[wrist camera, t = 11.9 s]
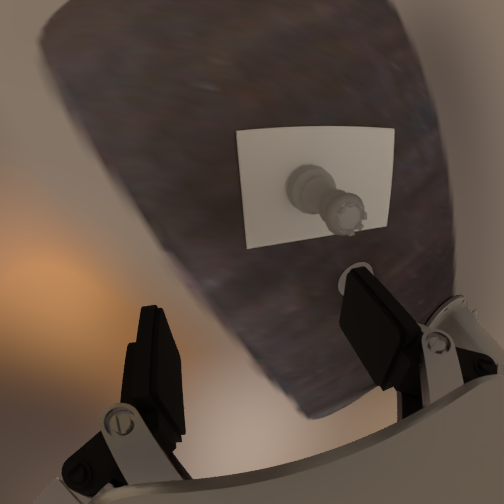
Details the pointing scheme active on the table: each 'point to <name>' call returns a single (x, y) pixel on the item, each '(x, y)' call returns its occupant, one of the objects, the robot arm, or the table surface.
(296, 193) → the rook chess piece
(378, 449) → the robot arm
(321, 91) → the table surface
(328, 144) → the grey mat
